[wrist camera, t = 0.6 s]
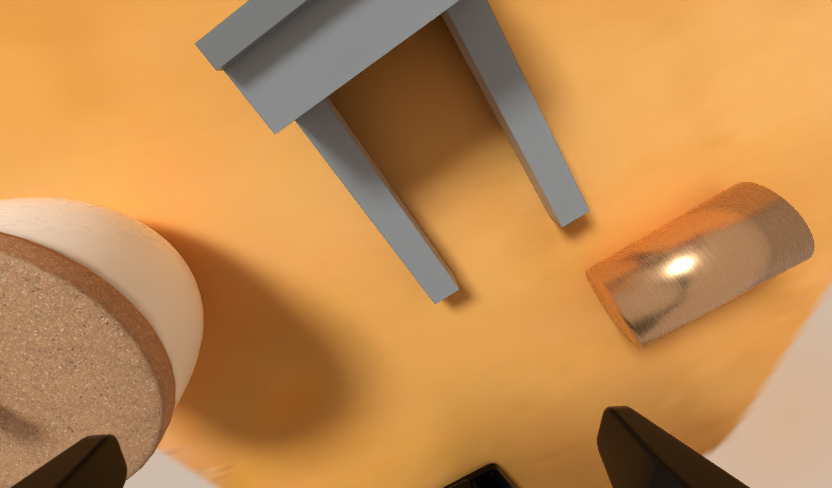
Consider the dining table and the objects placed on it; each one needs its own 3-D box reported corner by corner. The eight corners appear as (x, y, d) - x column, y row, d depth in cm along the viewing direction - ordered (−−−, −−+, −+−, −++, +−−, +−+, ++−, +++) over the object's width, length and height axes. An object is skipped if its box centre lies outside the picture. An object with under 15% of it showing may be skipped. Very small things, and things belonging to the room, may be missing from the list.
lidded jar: (-21, 133, 16) (-448, 207, 8) (252, 203, 19) (149, 321, 10) (-4, 343, 20) (-278, 547, 12) (221, 381, 22) (127, 576, 14)
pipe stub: (727, 166, 19) (819, 215, 16) (730, 226, 22) (809, 278, 19) (577, 255, 21) (633, 317, 17) (597, 301, 23) (649, 363, 20)
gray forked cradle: (575, 200, 20) (643, 248, 15) (431, 289, 21) (448, 359, 16) (430, -89, 15) (459, -169, 10) (251, 50, 16) (194, 43, 11)
